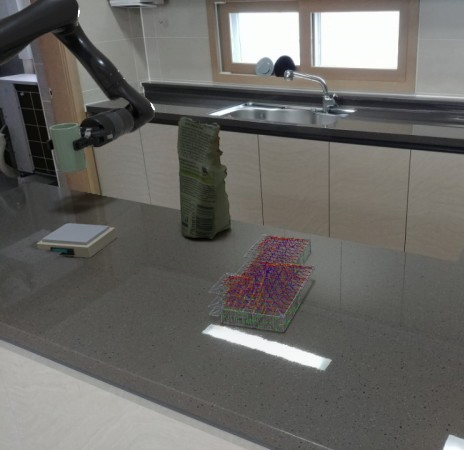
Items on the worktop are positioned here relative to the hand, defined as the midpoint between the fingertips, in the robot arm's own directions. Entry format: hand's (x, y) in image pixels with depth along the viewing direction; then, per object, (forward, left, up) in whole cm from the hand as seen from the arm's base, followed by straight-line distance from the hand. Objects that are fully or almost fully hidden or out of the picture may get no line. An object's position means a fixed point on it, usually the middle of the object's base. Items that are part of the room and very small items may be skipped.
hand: (61, 146), depth 120 cm
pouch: (+35, -2, -18) cm, 39 cm away
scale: (+10, -13, -18) cm, 24 cm away
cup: (0, +2, -6) cm, 6 cm away
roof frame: (+55, -22, -18) cm, 62 cm away
